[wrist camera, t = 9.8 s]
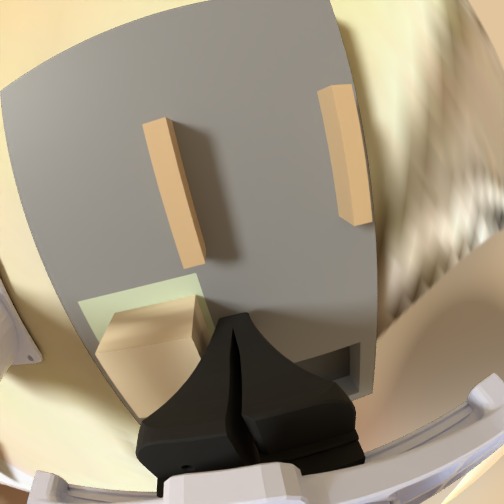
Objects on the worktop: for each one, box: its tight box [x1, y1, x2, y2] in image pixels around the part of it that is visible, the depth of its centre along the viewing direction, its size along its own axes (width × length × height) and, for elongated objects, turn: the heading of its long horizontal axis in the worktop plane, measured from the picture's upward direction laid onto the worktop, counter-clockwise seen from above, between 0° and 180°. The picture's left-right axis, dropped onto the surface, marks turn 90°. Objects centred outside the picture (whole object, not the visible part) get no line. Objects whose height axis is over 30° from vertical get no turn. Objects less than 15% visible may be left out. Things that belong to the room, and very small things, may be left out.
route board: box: [0, 0, 377, 425], centre depth 12 cm, size 15×22×4 cm
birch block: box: [95, 295, 211, 418], centre depth 12 cm, size 4×4×3 cm
